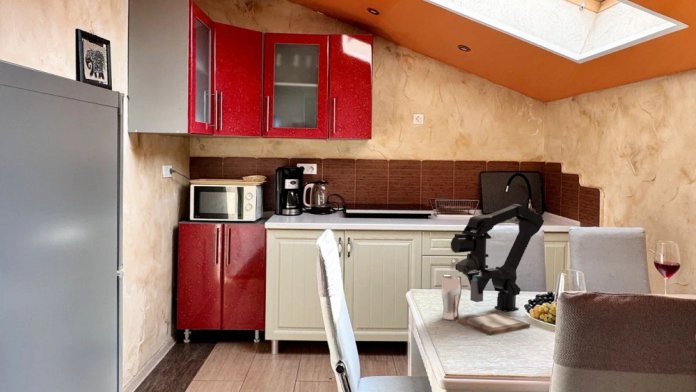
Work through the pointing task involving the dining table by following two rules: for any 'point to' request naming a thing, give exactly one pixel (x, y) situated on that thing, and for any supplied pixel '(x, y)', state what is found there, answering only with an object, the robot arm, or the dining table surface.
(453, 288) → the metal tumbler
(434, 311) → the dining table surface
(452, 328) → the dining table surface
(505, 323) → the wooden tray
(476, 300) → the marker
